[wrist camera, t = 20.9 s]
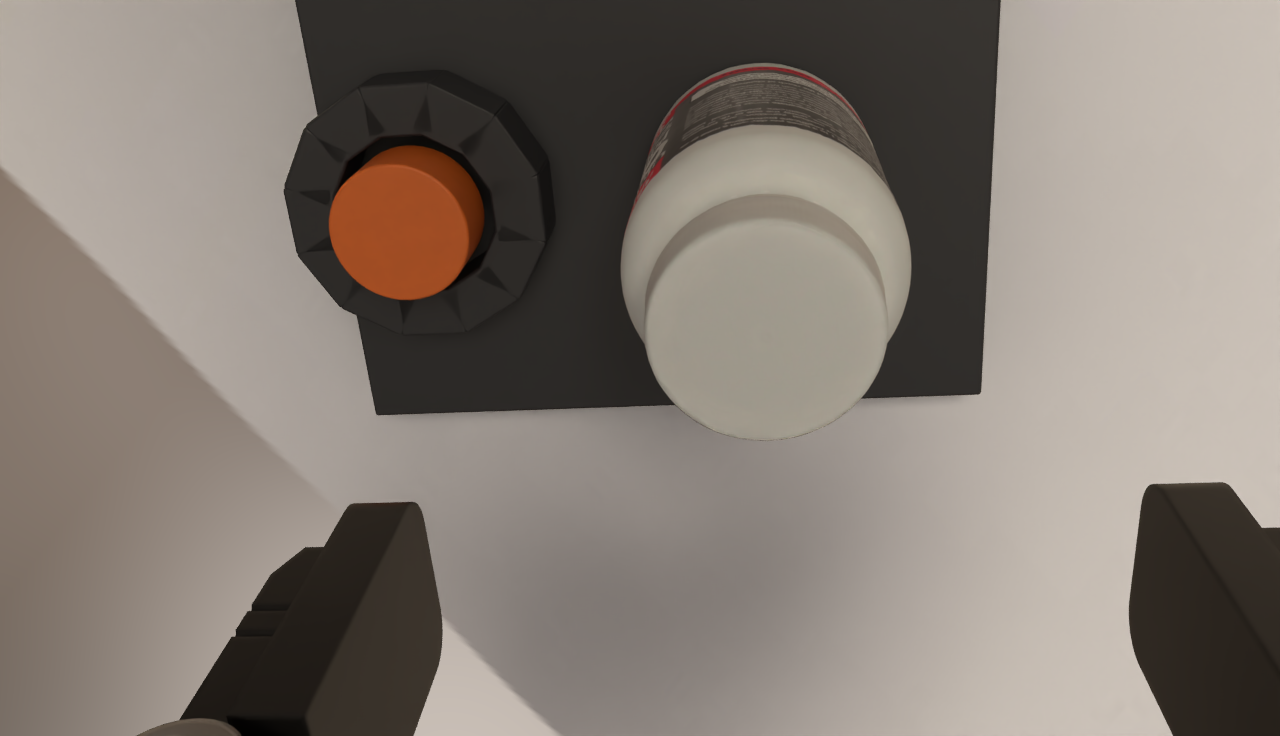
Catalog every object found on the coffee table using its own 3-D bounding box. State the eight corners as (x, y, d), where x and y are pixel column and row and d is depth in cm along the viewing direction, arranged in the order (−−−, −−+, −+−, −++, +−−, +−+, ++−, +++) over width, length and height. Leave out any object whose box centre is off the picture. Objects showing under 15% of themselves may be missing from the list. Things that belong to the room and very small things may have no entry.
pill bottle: (622, 89, 27) (563, 214, 18) (851, 33, 26) (909, 135, 17) (676, 300, 29) (648, 506, 20) (890, 255, 28) (959, 449, 19)
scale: (370, 394, 32) (336, 445, 29) (282, -57, 27) (231, -45, 25) (971, 372, 30) (994, 424, 28) (994, -115, 25) (1024, -109, 23)
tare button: (365, 277, 28) (342, 304, 26) (340, 148, 27) (314, 168, 25) (493, 271, 28) (478, 298, 26) (475, 140, 26) (457, 159, 25)
